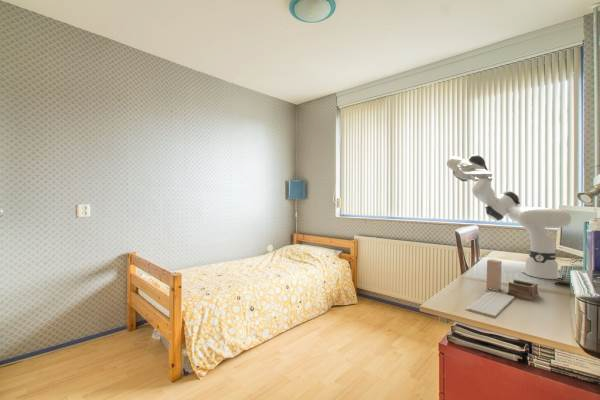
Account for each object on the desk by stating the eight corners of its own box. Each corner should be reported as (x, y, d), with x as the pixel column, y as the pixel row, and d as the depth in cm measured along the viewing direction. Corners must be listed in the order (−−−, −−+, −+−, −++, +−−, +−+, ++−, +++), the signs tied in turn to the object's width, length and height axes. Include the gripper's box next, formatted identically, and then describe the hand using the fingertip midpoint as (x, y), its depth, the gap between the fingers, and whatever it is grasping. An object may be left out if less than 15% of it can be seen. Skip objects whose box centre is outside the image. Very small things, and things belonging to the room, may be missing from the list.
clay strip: (489, 286, 151) (490, 259, 151) (500, 288, 147) (501, 261, 147) (486, 287, 148) (487, 260, 148) (497, 290, 145) (498, 262, 144)
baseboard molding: (461, 310, 122) (494, 319, 113) (461, 303, 122) (495, 312, 113) (484, 292, 143) (514, 299, 134) (484, 286, 143) (514, 293, 134)
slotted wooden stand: (515, 289, 146) (515, 278, 146) (538, 294, 139) (538, 283, 139) (506, 295, 138) (507, 283, 138) (530, 301, 131) (530, 288, 131)
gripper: (479, 174, 184) (496, 184, 173) (451, 175, 180) (467, 185, 168) (483, 165, 181) (501, 174, 169) (454, 165, 177) (471, 175, 165)
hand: (484, 180), depth 169 cm, fingers open, 8 cm apart
